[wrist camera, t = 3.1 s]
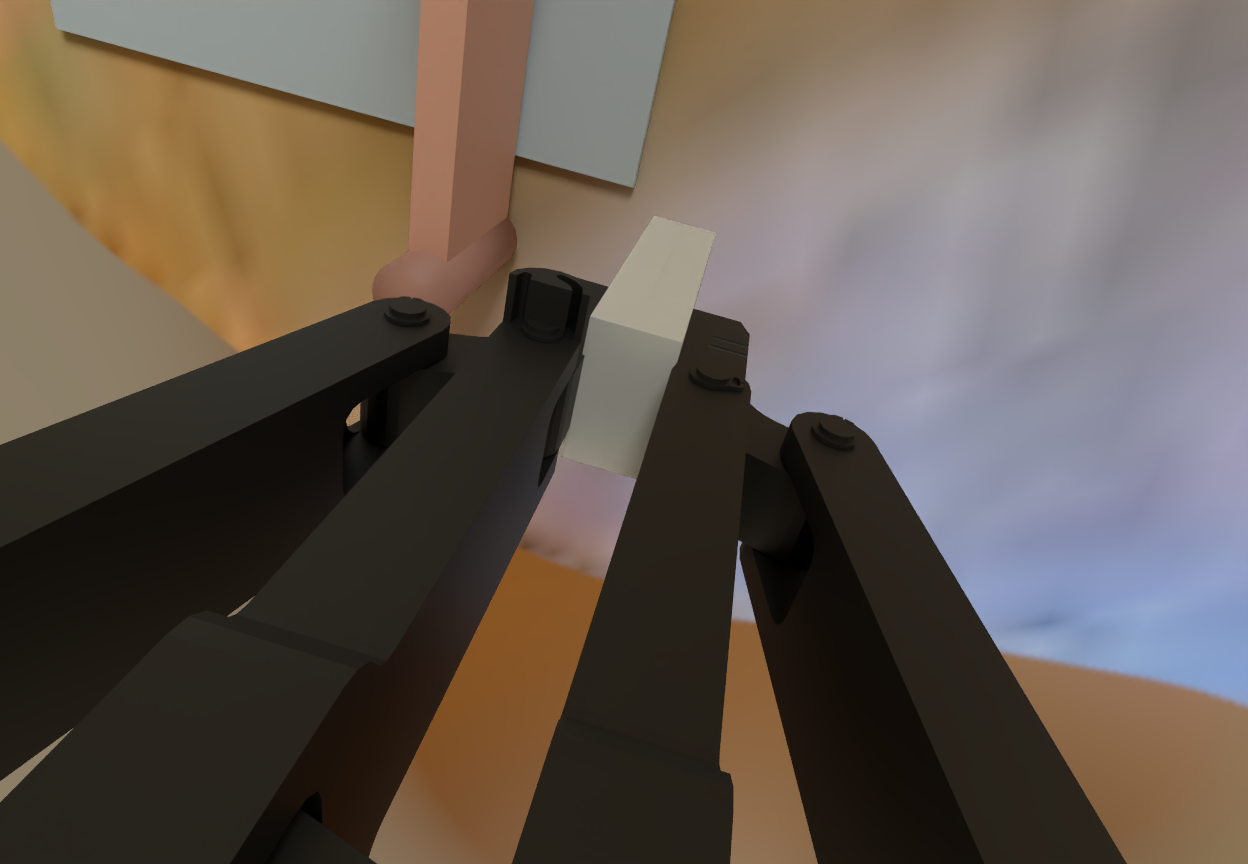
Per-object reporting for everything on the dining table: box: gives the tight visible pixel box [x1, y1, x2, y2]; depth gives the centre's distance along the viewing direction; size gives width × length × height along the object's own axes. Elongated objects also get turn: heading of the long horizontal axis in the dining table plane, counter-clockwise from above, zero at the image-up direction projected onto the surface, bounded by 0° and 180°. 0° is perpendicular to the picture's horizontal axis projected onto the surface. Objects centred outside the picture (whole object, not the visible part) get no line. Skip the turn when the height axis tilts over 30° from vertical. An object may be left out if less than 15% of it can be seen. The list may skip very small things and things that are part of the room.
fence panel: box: [372, 0, 534, 315], centre depth 17 cm, size 10×2×6 cm, turn 168°
